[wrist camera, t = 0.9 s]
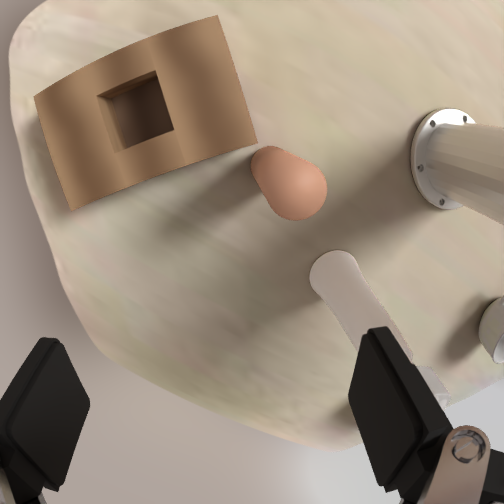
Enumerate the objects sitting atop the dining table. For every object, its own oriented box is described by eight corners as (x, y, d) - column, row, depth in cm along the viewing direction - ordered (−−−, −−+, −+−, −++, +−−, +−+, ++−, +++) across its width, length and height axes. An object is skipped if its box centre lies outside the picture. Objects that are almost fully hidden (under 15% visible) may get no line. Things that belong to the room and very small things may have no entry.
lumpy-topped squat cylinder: (411, 404, 50) (429, 436, 42) (357, 408, 48) (372, 446, 40) (439, 364, 46) (462, 397, 38) (383, 366, 44) (406, 405, 36)
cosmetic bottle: (366, 269, 37) (471, 401, 16) (331, 304, 38) (408, 452, 18) (335, 239, 35) (446, 377, 14) (298, 277, 36) (369, 439, 16)
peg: (284, 141, 30) (319, 153, 19) (294, 179, 32) (332, 210, 21) (245, 152, 30) (258, 169, 19) (256, 189, 32) (275, 227, 21)
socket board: (218, 31, 25) (217, 15, 20) (252, 140, 30) (257, 143, 25) (57, 98, 26) (33, 96, 21) (90, 198, 30) (71, 211, 26)
